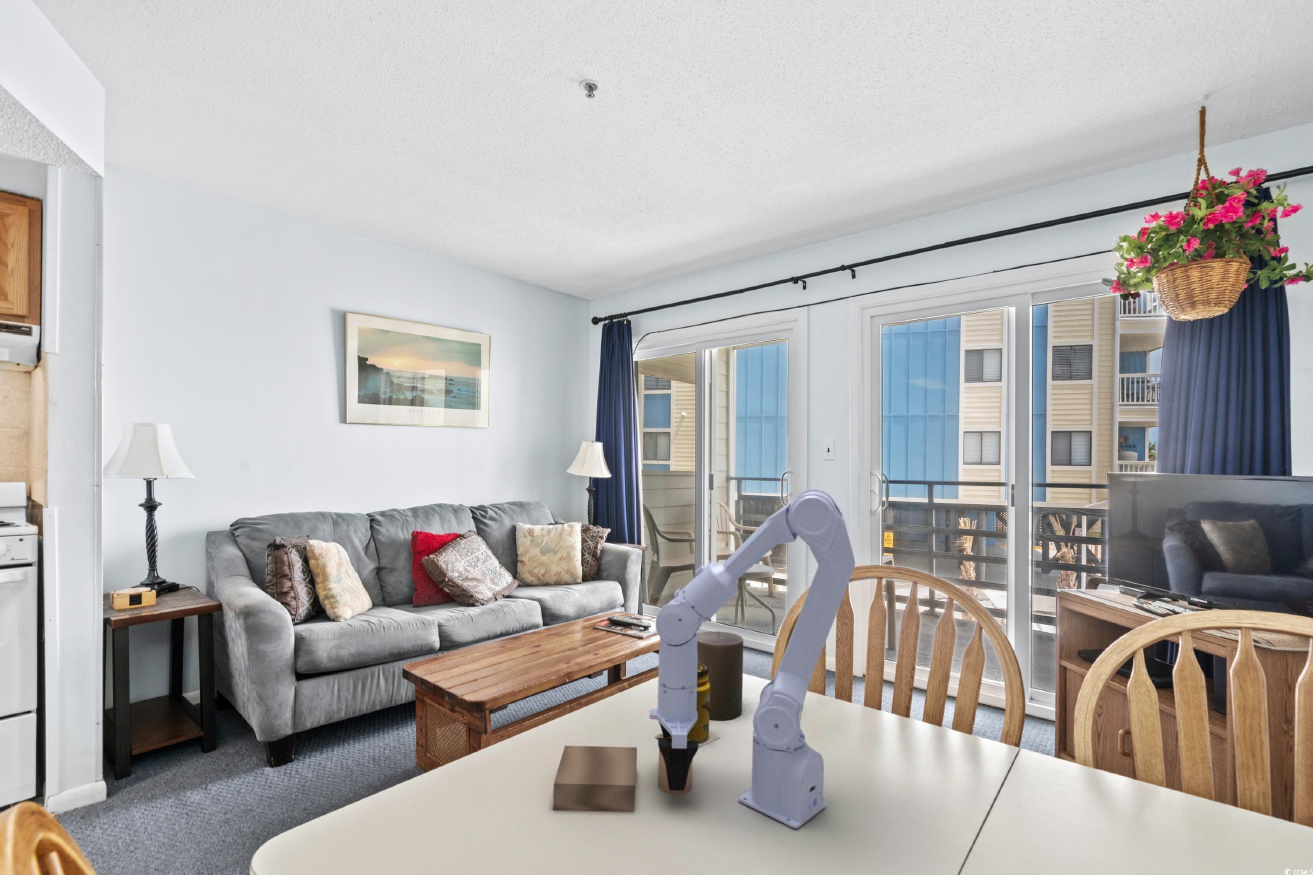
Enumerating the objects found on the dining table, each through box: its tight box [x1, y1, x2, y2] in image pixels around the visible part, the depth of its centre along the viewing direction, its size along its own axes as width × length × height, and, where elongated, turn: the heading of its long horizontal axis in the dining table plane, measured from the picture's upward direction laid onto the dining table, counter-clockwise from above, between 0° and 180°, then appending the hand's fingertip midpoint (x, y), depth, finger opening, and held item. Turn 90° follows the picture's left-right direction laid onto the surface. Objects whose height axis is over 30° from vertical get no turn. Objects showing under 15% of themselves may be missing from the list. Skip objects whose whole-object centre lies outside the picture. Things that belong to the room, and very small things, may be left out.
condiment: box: [654, 663, 720, 747], centre depth 110 cm, size 7×8×12 cm
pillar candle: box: [696, 630, 744, 721], centre depth 122 cm, size 10×10×15 cm
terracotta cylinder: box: [657, 737, 694, 796], centre depth 94 cm, size 5×5×6 cm
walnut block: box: [552, 745, 638, 813], centre depth 93 cm, size 11×11×4 cm
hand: (675, 775), depth 94 cm, fingers open, 7 cm apart
